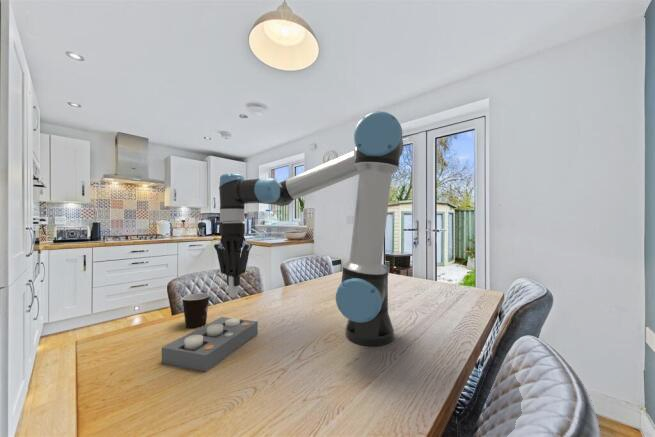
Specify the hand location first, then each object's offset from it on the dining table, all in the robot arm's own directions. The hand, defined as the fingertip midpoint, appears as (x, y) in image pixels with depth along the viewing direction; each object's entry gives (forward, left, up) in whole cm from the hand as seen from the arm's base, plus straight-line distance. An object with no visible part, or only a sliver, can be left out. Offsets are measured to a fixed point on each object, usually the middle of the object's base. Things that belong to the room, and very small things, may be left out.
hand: (233, 296), depth 86 cm
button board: (0, +8, -13) cm, 15 cm away
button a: (0, 0, -10) cm, 10 cm away
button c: (0, +16, -9) cm, 18 cm away
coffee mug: (+18, -5, -13) cm, 23 cm away
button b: (0, +8, -9) cm, 12 cm away
